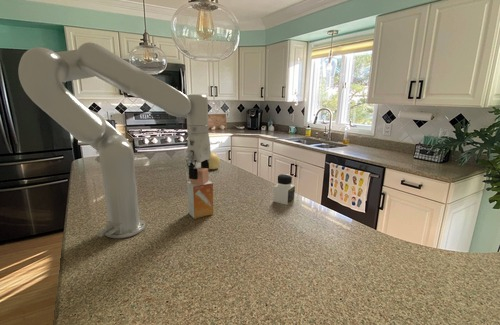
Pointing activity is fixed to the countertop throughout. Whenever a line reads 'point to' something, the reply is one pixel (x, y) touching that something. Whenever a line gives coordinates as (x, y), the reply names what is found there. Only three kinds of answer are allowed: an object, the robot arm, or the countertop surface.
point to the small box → (200, 199)
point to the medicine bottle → (284, 190)
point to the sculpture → (214, 161)
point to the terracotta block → (201, 176)
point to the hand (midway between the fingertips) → (199, 175)
